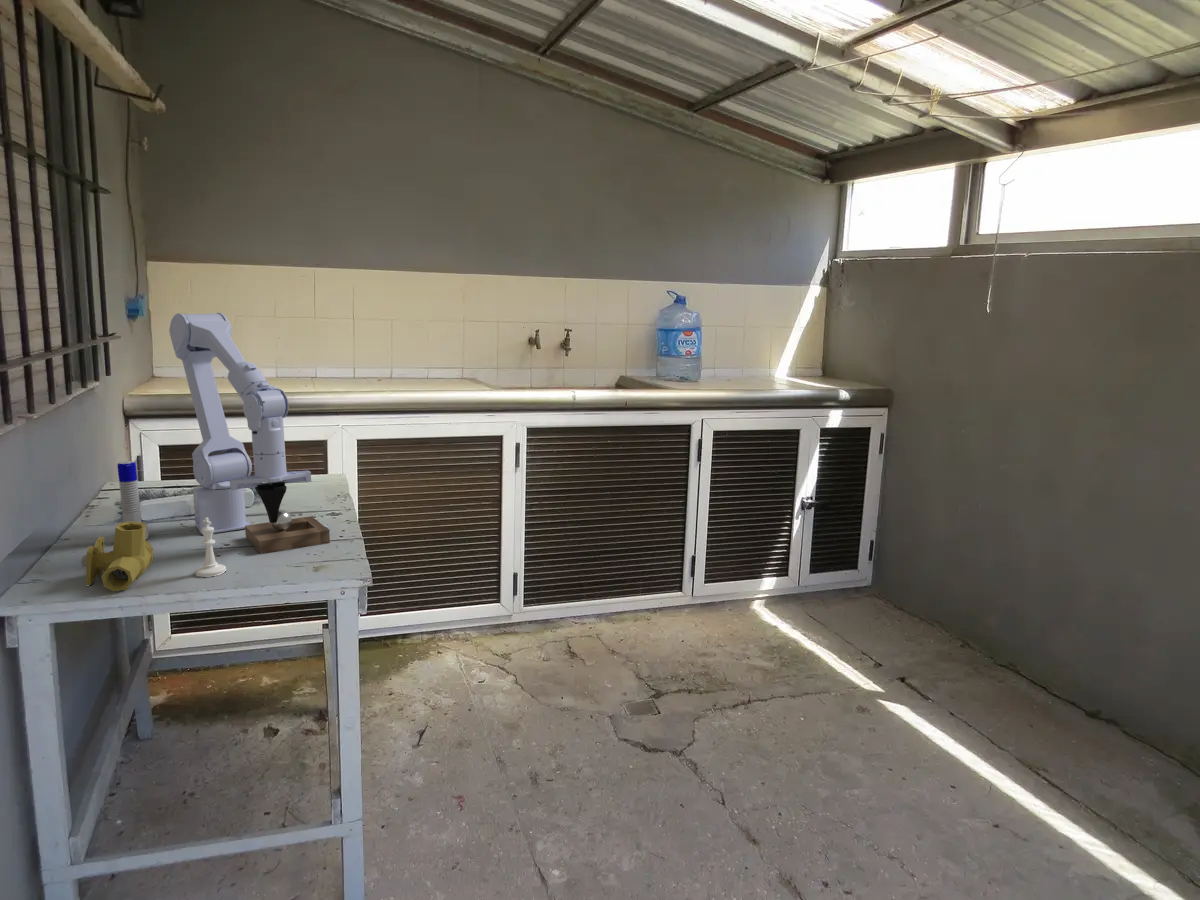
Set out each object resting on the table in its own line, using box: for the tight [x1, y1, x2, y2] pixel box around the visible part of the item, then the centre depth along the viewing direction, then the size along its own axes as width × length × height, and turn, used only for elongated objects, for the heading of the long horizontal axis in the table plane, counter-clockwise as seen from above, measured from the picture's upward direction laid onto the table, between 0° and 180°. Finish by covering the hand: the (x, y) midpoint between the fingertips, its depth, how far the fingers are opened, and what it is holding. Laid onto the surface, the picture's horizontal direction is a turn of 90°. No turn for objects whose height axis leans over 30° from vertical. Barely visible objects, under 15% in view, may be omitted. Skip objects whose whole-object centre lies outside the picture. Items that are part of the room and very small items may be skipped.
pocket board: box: [244, 515, 331, 555], centre depth 161 cm, size 13×12×2 cm
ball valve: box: [80, 522, 154, 592], centre depth 137 cm, size 13×10×10 cm
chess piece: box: [195, 517, 227, 578], centre depth 141 cm, size 5×5×10 cm
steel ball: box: [270, 509, 293, 530], centre depth 159 cm, size 4×4×4 cm
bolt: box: [117, 460, 149, 541], centre depth 158 cm, size 16×5×5 cm
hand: (274, 521), depth 158 cm, fingers closed, pressing on steel ball
